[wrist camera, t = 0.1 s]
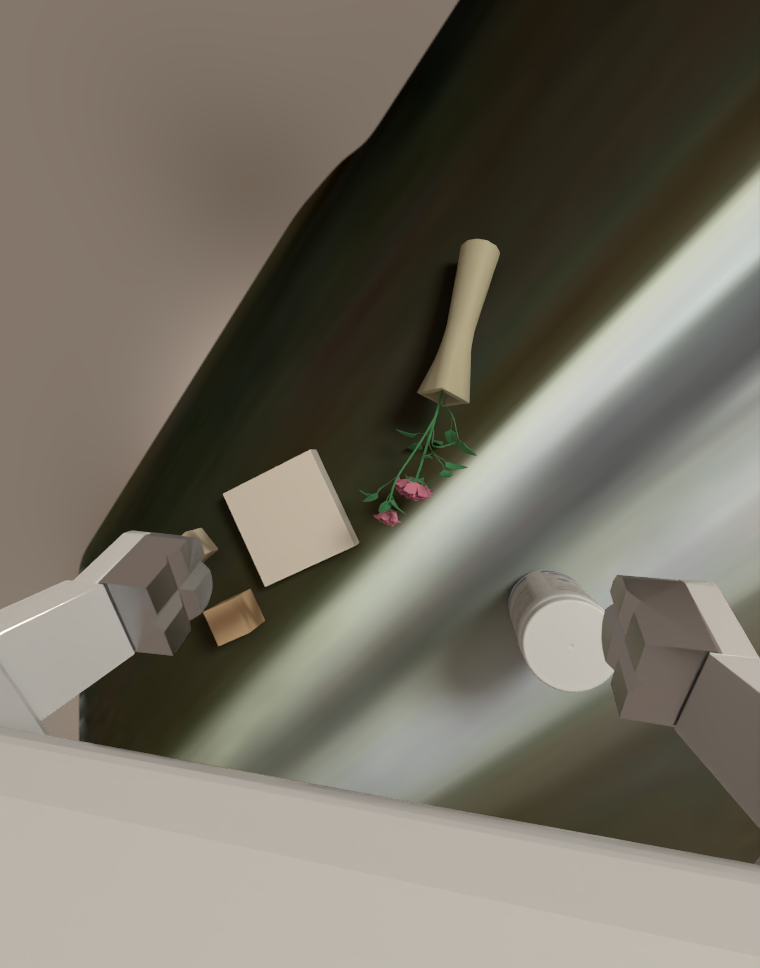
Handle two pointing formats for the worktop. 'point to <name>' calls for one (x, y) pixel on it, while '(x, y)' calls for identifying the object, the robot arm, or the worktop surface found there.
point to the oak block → (234, 617)
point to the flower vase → (449, 365)
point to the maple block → (203, 542)
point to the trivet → (291, 517)
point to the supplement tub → (559, 631)
